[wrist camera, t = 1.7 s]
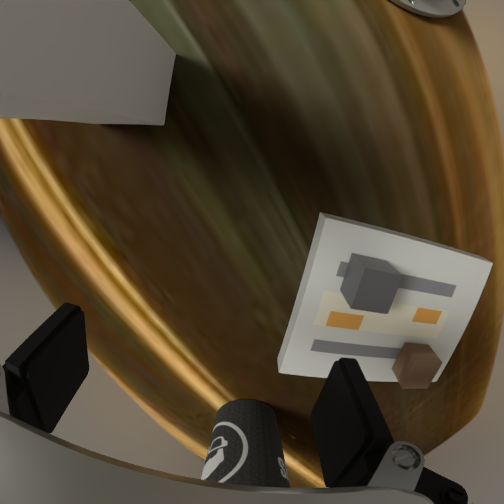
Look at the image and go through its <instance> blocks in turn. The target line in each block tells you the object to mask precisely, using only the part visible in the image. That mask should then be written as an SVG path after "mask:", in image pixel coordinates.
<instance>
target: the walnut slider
mask: <svg viewBox="0 0 504 504" xmlns="http://www.w3.org/2000/svg"><path fill="white" fill-rule="evenodd" d="M441 365H442V361H441V360H440V359H439V357H438V356H437V355H436V353H435V352H434V351H433V350H432V348H431V347H430V346H429V345H428V344H415V343H404V345H403V347H402V349H401V351H400V353H399V355H398V357H397V359H396V360H395V362H394V364H393V366H392V368H391V369H392V371H393V372H394V374H395V376H396V378H397V380H398V382H399V383H400V385H401V387H402V389H426V388H428V387H429V385H430V383H431V382H432V380H433V378H434V377H435V375H436V373H437V372H438V370H439V368H440V367H441Z"/></svg>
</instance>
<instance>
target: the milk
mask: <svg viewBox="0 0 504 504" xmlns="http://www.w3.org/2000/svg"><path fill="white" fill-rule="evenodd" d="M175 56H176V53H175V52H174V51H173V50H172V48H171V47H170V46H169V45H168V44H167V43H166V42H165V40H164V39H163V38H162V37H161V36H160V35H159V33H158V32H157V31H156V30H155V29H154V28H153V27H152V26H151V24H150V23H149V22H148V21H147V20H146V19H145V18H144V17H143V15H142V14H141V13H140V12H139V11H138V10H137V9H136V8H135V7H134V6H133V5H132V3H131V2H130V1H129V0H0V118H22V119H43V120H58V121H71V122H82V123H92V124H141V125H164V123H165V116H166V109H167V102H168V96H169V90H170V84H171V78H172V72H173V67H174V61H175Z"/></svg>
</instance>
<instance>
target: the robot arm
mask: <svg viewBox="0 0 504 504" xmlns="http://www.w3.org/2000/svg"><path fill="white" fill-rule="evenodd" d="M390 1H392V2H394V3H395V4H397V5H398V6H401V7H403V8H405V9H407V10H409V11H411V12H414V13H416V14H419V15H422V16H427V17H431V18H445V17H450V16H451V15H454V14H456V13H457V12H459V11H460V10H461V9H462V8H463V6H464V5H465V3H466V0H390ZM88 371H89V361H88V353H87V343H86V331H85V317H84V312H83V311H81V308H80V307H79V306H77V305H74V304H70V303H64V304H63V305H62V306H61V307H60V308H59V309H58V310H56V311H55V312H54V313H53V314H52V315H51V316H50V317H49V318H48V319H47V320H46V321H45V322H44V323H43V324H42V325H41V326H40V327H39V328H38V329H36V331H34V332H33V333H32V334H31V335H30V336H29V337H28V338H27V339H26V340H25V341H24V342H23V343H22V344H21V345H20V346H19V347H18V348H17V349H16V350H15V351H14V353H12V354H11V355H10V357H9V358H8V359H7V360H6V361H5V364H4V365H3V366H1V365H0V504H468V503H467V502H468V496H467V493H466V491H465V489H464V488H463V487H462V486H461V485H459V484H457V483H455V482H453V481H451V480H449V479H447V478H445V477H443V476H441V475H439V474H437V473H435V472H433V471H431V470H429V469H427V468H425V467H423V466H424V461H425V460H424V455H423V454H422V452H421V450H420V449H419V448H418V447H416V446H415V445H413V444H411V443H408V442H402V441H400V442H395V443H394V440H393V438H392V436H391V433H390V431H389V429H388V426H387V424H386V422H385V420H384V417H383V415H382V413H381V411H380V409H379V406H378V404H377V402H376V400H375V398H374V395H373V393H372V391H371V389H370V387H369V385H368V382H367V380H366V378H365V376H364V374H363V372H362V370H361V368H360V365H359V363H358V361H357V360H356V359H355V358H344V357H341V358H340V359H339V360H338V361H335V362H334V363H333V366H332V368H331V370H330V373H329V375H328V377H327V379H326V382H325V384H324V386H323V388H322V390H321V393H320V395H319V397H318V399H317V401H316V403H315V405H314V407H313V410H312V414H311V419H312V424H313V428H314V433H315V438H316V443H317V448H318V452H319V457H320V462H321V467H322V472H323V477H324V482H325V486H326V487H329V488H279V487H261V486H248V485H238V484H229V483H221V482H214V481H207V480H201V479H195V478H189V477H184V476H179V475H174V474H169V473H165V472H161V471H156V470H153V469H149V468H144V467H141V466H137V465H134V464H130V463H127V462H123V461H120V460H117V459H114V458H111V457H108V456H105V455H102V454H99V453H96V452H93V451H90V450H87V449H85V448H82V447H80V446H77V445H74V444H72V443H70V442H67V441H65V440H63V439H60V438H58V437H55V436H53V435H51V434H50V433H52V431H53V430H54V428H55V427H56V425H57V423H58V421H59V420H60V418H61V416H62V415H63V413H64V411H65V410H66V408H67V406H68V405H69V403H70V402H71V400H72V398H73V397H74V395H75V394H76V392H77V390H78V389H79V387H80V386H81V384H82V382H83V381H84V379H85V378H86V376H87V374H88ZM48 433H49V434H48ZM471 504H473V503H471Z"/></svg>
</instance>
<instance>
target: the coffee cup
mask: <svg viewBox="0 0 504 504" xmlns="http://www.w3.org/2000/svg"><path fill="white" fill-rule="evenodd" d="M201 480H207V481H214V482H221V483H229V484H238V485H248V486H261V487H279V488H290V485H289V480H288V475H287V470H286V465H285V460H284V455H283V449H282V444H281V439H280V434H279V429H278V424H277V418H276V414H275V412H274V410H273V409H272V408H271V407H270V406H269V405H267V404H265V403H263V402H261V401H257V400H252V399H240V400H234V401H231V402H228V403H226V404H225V405H223V406H222V407H221V408H220V409H219V411H218V413H217V417H216V421H215V425H214V429H213V433H212V437H211V441H210V445H209V449H208V453H207V457H206V461H205V465H204V469H203V473H202V477H201Z"/></svg>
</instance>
